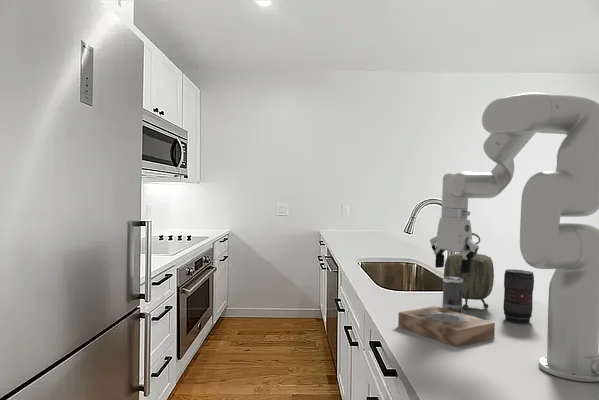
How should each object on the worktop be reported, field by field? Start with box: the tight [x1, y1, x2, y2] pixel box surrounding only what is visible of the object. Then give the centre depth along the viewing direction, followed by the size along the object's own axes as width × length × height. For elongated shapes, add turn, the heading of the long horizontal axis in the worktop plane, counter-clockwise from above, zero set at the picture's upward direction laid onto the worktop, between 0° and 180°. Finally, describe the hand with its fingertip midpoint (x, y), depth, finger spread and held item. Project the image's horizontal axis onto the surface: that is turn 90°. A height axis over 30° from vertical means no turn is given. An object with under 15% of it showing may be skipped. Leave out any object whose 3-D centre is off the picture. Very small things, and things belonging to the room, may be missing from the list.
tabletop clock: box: [443, 232, 495, 310], centre depth 156 cm, size 14×9×25 cm, turn 57°
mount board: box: [397, 305, 496, 348], centre depth 128 cm, size 20×15×4 cm
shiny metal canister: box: [441, 276, 463, 314], centre depth 143 cm, size 6×6×12 cm
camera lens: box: [503, 268, 535, 325], centre depth 141 cm, size 8×8×15 cm
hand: (452, 269), depth 143 cm, fingers open, 9 cm apart
